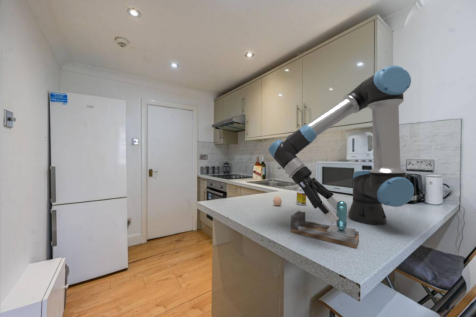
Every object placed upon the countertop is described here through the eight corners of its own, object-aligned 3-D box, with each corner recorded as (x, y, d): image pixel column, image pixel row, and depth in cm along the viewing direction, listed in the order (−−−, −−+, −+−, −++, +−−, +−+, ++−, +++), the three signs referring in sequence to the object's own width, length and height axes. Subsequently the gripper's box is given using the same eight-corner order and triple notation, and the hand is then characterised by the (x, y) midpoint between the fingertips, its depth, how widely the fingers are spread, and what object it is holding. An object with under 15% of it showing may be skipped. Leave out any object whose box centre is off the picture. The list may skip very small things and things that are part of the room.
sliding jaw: (326, 235, 69) (327, 201, 68) (331, 229, 74) (331, 197, 74) (353, 241, 64) (353, 204, 64) (355, 234, 69) (355, 200, 69)
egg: (276, 204, 120) (276, 194, 120) (283, 205, 117) (283, 196, 117) (271, 205, 117) (271, 195, 117) (278, 207, 113) (278, 197, 113)
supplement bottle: (302, 206, 116) (302, 189, 116) (294, 204, 121) (294, 187, 121) (307, 204, 119) (308, 188, 119) (300, 203, 124) (300, 187, 124)
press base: (290, 232, 76) (290, 215, 76) (298, 226, 82) (298, 211, 82) (356, 248, 63) (356, 228, 63) (358, 239, 69) (359, 221, 69)
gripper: (301, 175, 89) (337, 213, 81) (278, 180, 69) (322, 232, 61) (313, 164, 86) (352, 203, 77) (293, 166, 66) (341, 219, 57)
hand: (339, 216), depth 69 cm, fingers open, 13 cm apart
